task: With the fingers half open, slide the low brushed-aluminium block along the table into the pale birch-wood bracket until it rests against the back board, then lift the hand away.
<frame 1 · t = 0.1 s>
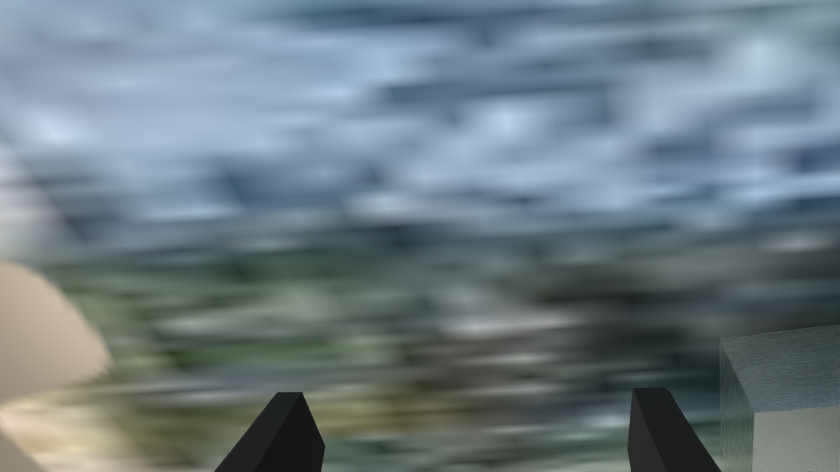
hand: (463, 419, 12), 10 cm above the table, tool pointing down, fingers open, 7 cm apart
aluminium block: (791, 387, 24), on the table
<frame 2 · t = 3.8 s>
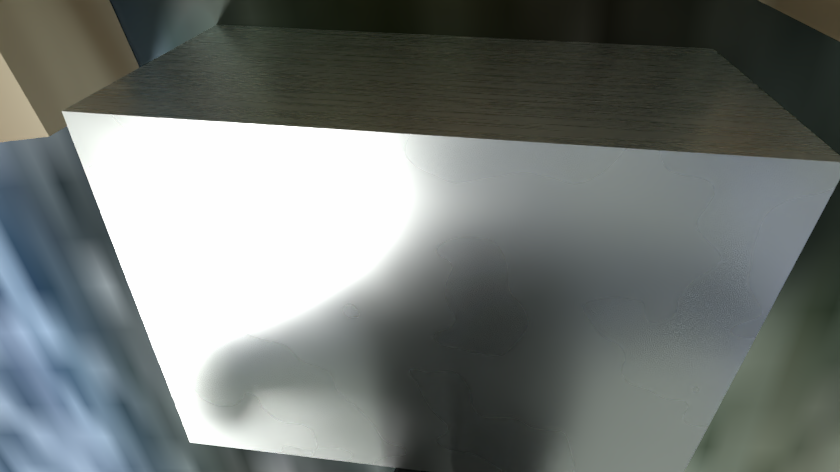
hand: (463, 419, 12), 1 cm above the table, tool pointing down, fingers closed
aluminium block: (446, 193, 10), on the table, touching gripper
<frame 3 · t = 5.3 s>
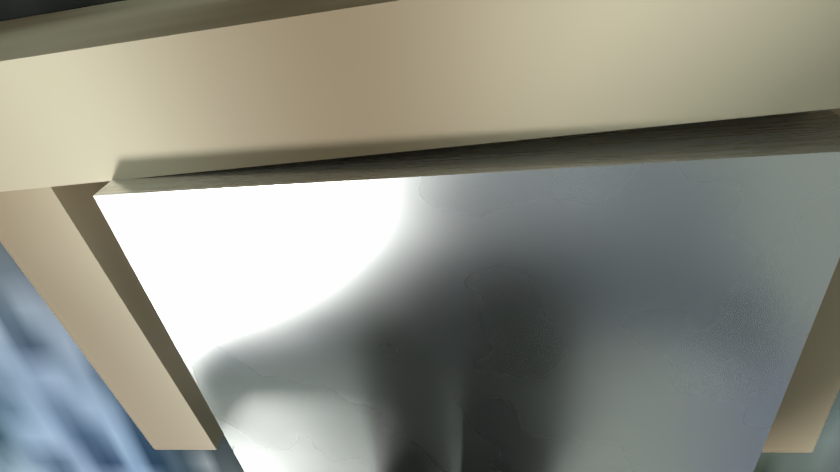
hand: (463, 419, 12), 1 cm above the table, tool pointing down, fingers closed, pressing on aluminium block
can bracket: (424, 191, 10), on the table
aluminium block: (472, 211, 10), on the table, touching can bracket, gripper
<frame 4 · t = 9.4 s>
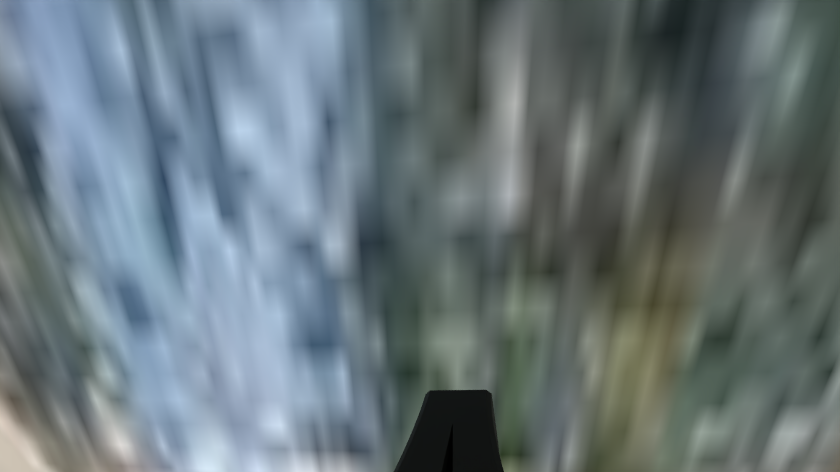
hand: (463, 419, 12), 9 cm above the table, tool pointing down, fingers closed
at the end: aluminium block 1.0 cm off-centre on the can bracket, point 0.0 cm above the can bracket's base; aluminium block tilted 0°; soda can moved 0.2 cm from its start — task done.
